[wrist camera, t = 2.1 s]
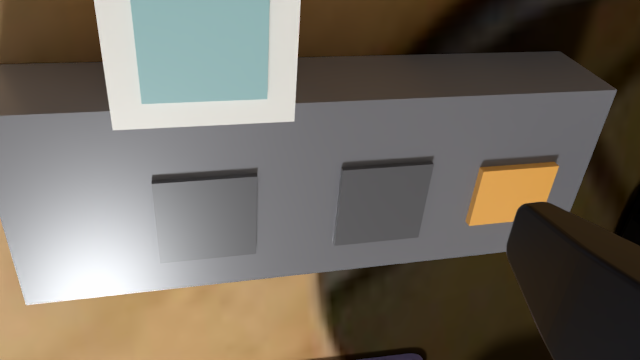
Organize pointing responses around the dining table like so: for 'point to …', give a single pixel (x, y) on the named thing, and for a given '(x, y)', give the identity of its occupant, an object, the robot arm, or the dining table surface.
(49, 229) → the power strip
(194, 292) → the dining table surface
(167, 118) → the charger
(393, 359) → the smartphone
